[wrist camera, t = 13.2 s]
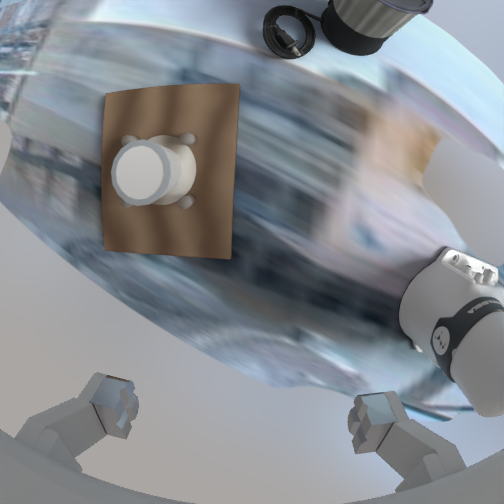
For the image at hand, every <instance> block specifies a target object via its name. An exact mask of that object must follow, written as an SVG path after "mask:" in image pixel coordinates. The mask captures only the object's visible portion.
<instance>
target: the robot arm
mask: <svg viewBox="0 0 504 504" xmlns="http://www.w3.org/2000/svg"><path fill="white" fill-rule="evenodd" d="M453 256H454V258H453ZM399 321H400V325H401V328H402V330H403V331H404V333H405V334H406V335H407V336H409V337H410V338H411V339H412V341H413V345H414V347H415V349H416V350H417V351H418V352H424V353H425V354H426V355H427V356H428V357H429V359H430V360H431V361H432V362H433V363H434V364H435V365H436V366H437V367H439V368H441V369H442V371H443V373H444V374H445V376H446V377H448V378H449V379H450V380H451V381H452V382H454V383H456V384H457V385H458V387H459V388H460V389H461V391H462V392H463V394H464V395H465V396H466V398H467V399H468V401H469V402H470V404H471V405H472V407H473V408H474V410H475V411H476V412H477V413H478V414H479V415H481V416H483V417H496V416H501V415H503V414H504V288H503V287H502V286H501V285H500V284H498V269H497V268H496V267H495V266H493V265H491V264H489V263H487V262H485V261H482V260H480V259H478V258H475V257H473V256H470V255H468V254H466V253H463V252H461V251H458V250H456V249H453V248H451V247H447V248H445V249H444V250H443V251H442V253H441V254H440V255H439V257H438V258H437V259H436V261H435V262H433V263H432V264H431V265H429V266H428V267H426V268H425V269H423V270H422V271H421V272H420V273H419V274H418V275H417V276H416V277H415V278H414V279H413V280H412V282H411V283H410V285H409V286H408V288H407V290H406V291H405V293H404V296H403V298H402V301H401V305H400V310H399ZM134 389H135V387H134V384H133V382H132V381H129V380H125V379H121V378H117V377H113V376H110V375H105V374H101V373H98V372H97V373H95V374H94V375H93V376H92V378H91V379H90V380H89V382H88V384H87V385H86V387H85V388H84V390H83V391H82V392H81V394H80V395H79V397H78V398H72V399H70V400H68V401H66V402H64V403H61V404H59V405H57V406H55V407H52V408H50V409H48V410H46V411H44V412H41V413H39V414H36V415H34V416H32V417H29V419H28V420H27V421H26V423H25V424H24V425H23V427H22V428H21V430H20V431H19V433H18V434H17V435H16V437H15V438H13V437H11V436H10V435H8V434H7V433H5V432H4V431H2V430H1V429H0V504H194V503H188V502H182V501H176V500H171V499H166V498H162V497H157V496H153V495H149V494H145V493H141V492H137V491H134V490H130V489H126V488H124V487H120V486H117V485H114V484H111V483H108V482H105V481H102V480H100V479H97V478H94V477H92V476H89V475H86V474H84V473H81V472H82V468H81V466H80V464H79V463H78V462H77V461H76V459H75V457H76V456H78V455H79V454H81V453H82V452H84V451H85V450H87V449H88V448H90V447H91V446H92V445H94V444H95V443H97V442H98V441H99V440H101V439H102V438H104V437H105V436H106V434H107V435H111V436H115V437H119V438H123V439H127V437H128V435H129V432H130V430H131V428H132V426H131V423H130V422H131V421H132V420H134V419H135V418H136V416H137V413H138V408H139V402H138V397H137V396H136V395H135V394H134V393H133V391H134ZM354 404H355V407H353V408H352V409H351V410H350V412H349V415H348V428H349V432H350V433H351V434H352V435H354V438H353V440H352V443H353V447H354V451H355V454H361V453H367V452H376V453H377V454H378V455H379V456H380V457H381V458H382V459H383V460H385V462H387V463H388V464H389V465H390V466H391V467H392V468H393V469H394V470H395V471H396V472H398V473H399V474H400V475H401V476H402V477H403V478H404V480H403V481H402V482H401V483H400V484H399V486H398V487H397V488H396V489H395V491H396V493H394V494H390V495H386V496H382V497H377V498H372V499H368V500H362V501H357V502H352V503H345V504H504V449H502V450H501V451H499V452H497V453H495V454H493V455H491V456H490V457H488V458H486V459H484V460H482V461H480V462H478V463H476V464H474V465H471V466H469V467H466V465H465V463H464V461H463V459H462V457H461V455H460V453H459V451H458V449H457V448H456V446H455V445H454V444H453V443H451V442H449V441H448V440H446V439H444V438H443V437H441V436H439V435H438V434H436V433H434V432H433V431H431V430H429V429H428V428H426V427H425V426H423V425H421V424H420V423H418V422H417V421H415V420H413V419H411V420H410V419H409V417H408V415H407V413H406V411H405V409H404V407H403V405H402V403H401V401H400V399H399V397H398V396H397V394H396V392H395V391H389V392H382V393H372V394H363V395H357V396H356V397H355V400H354Z"/></svg>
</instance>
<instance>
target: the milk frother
mask: <svg viewBox="0 0 504 504" xmlns="http://www.w3.org/2000/svg"><path fill="white" fill-rule="evenodd" d="M328 5H329V7H328V8H326V9H325V10H324V12H323V13H322V16H321V18H319V17H316V16H314V15H312V14H309V13H307V12H305V11H303V10H301V9H298V8H295V7H293V6H287V5H283V6H277V7H274V8H272V9H271V10H270V11H268V12H267V14H266V15H265V18H264V21H263V36H264V40H265V42H266V44H267V46H268V47H269V49H270V50H271V51H272V52H273V53H275V54H276V55H278V56H280V57H282V58H285V59H296V58H299V57H302V56H304V55H305V54H307V53H308V52H309V51H310V50H311V49H312V48H313V46H314V42H315V30H314V27H313V25H312V23H311V21H310V20H309V19H308V17H307V16H309V17H311V18H313V19H315V20H317V21H320V22H321V27H322V30H323V32H324V34H325V36H326V37H327V38H328V40H329V41H330V42H331V43H332V44H334V45H335V46H336V47H337V48H339V49H341V50H342V51H345V52H347V53H350V54H353V55H358V56H365V55H370V54H373V53H375V52H377V51H378V50H379V49H380V48H381V46H382V44H383V43H384V42H385V41H386V40H387V39H388V38H389V37H390V36H392V35H393V34H394V33H395V32H396V31H398V30H399V29H400V28H401V27H402V26H404V25H405V24H406V23H407V22H409V21H410V20H411V19H412V18H414V17H415V16H416V15H418V14H426V13H428V11H429V9H430V8H431V7H432V5H433V0H329V2H328ZM282 15H289V16H293V17H295V18H297V19H298V20H299V21H300V22H301V23H302V24H303V26H304V28H305V32H306V40H305V43H304V45H303V46H302V47H301V48H300V49H299V50H298V49H297V48H296V43H297V42H298V40H296V41H295V40H293V39H292V37H291V36H289V35H288V34H287V33H286V32H285V31H284V30H281V29H280V28H279V26H278V25H276V20H277V18H278V17H279V16H282ZM306 15H307V16H306Z"/></svg>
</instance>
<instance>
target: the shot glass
mask: <svg viewBox="0 0 504 504" xmlns="http://www.w3.org/2000/svg"><path fill="white" fill-rule="evenodd" d="M182 174H183V166H182V162H181V160H180V158H179V156H178V155H177V154H176V153H175V152H173V151H172V150H170V149H168V148H166V147H164V146H162V145H159V144H157V143H155V142H152V141H148V140H143V139H142V140H137V141H132V142H130V143H129V144H127V145H126V146H124V147H123V148H121V150H120V151H119V153H118V154H117V156H116V157H115V159H114V162H113V166H112V170H111V176H112V184H113V186H114V188H115V190H116V192H117V194H118V195H119V196H120V197H121V198H122V199H123V200H124V201H125V202H127V203H130V204H133V205H136V206H141V205H149V204H151V203H152V202H154V201H156V200H157V199H159V198H161V197H162V196H163V195H165V194H166V193H168V192H169V191H171V190H172V189H174V188H175V187H176V186H177V184H178V183H179V182H180V181H181V177H182Z"/></svg>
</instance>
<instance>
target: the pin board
mask: <svg viewBox="0 0 504 504" xmlns="http://www.w3.org/2000/svg"><path fill="white" fill-rule="evenodd" d="M239 98H240V84H187V85H171V86H159V87H149V88H140V89H132V90H125V91H118V92H112V93H106V99H105V108H104V120H103V135H102V161H101V194H102V220H103V236H104V248H105V251H115V252H129V253H143V254H157V255H172V256H187V257H202V258H217V259H231V256H232V231H233V207H234V186H235V166H236V148H237V130H238V114H239ZM142 139H143V140H148V141H152V142H155V143H157V144H159V145H162V146H164V147H166V148H168V149H170V150H172V151H173V152H175V153H176V154H177V155H178V156H179V158H180V160H181V162H182V166H183V174H182V177H181V181H180V182H179V183H178V184H177V186H176V187H175V188H174V189H172V190H171V191H169V192H168V193H166V194H165V195H163V196H162V197H161V198H159V199H157V200H156V201H154V202H152V203H151V204H149V205H141V206H136V205H133V204H130V203H127V202H125V201H124V200H123V199H122V198H121V197H120V196H119V195H118V194H117V192H116V190H115V188H114V186H113V184H112V176H111V170H112V166H113V162H114V159H115V157H116V156H117V154H118V153H119V151H120V150H121V148H123V147H124V146H126V145H127V144H129V143H130V142H132V141H137V140H142Z"/></svg>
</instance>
